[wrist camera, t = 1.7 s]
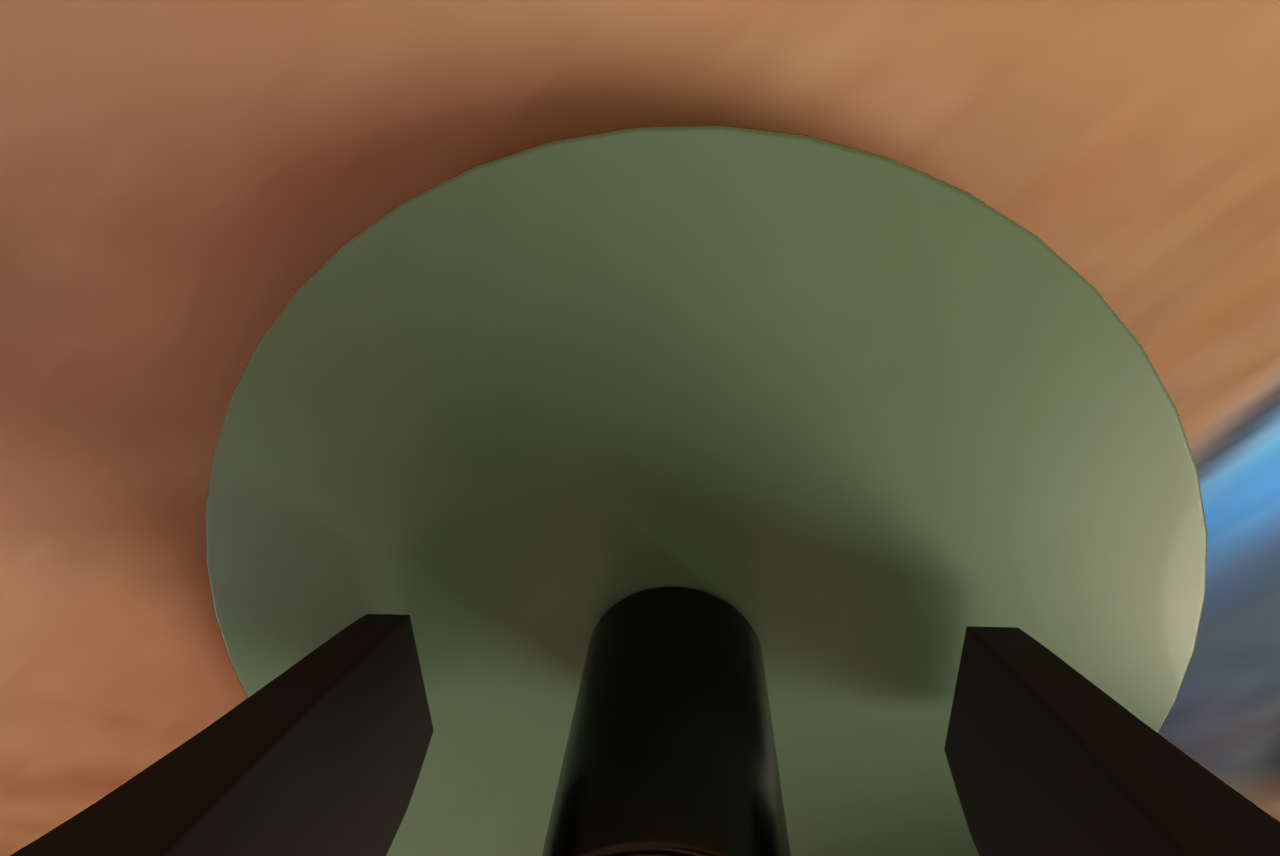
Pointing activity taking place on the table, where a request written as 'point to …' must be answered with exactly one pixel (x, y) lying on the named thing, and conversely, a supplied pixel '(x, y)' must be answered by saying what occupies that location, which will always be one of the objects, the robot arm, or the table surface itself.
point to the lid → (702, 491)
